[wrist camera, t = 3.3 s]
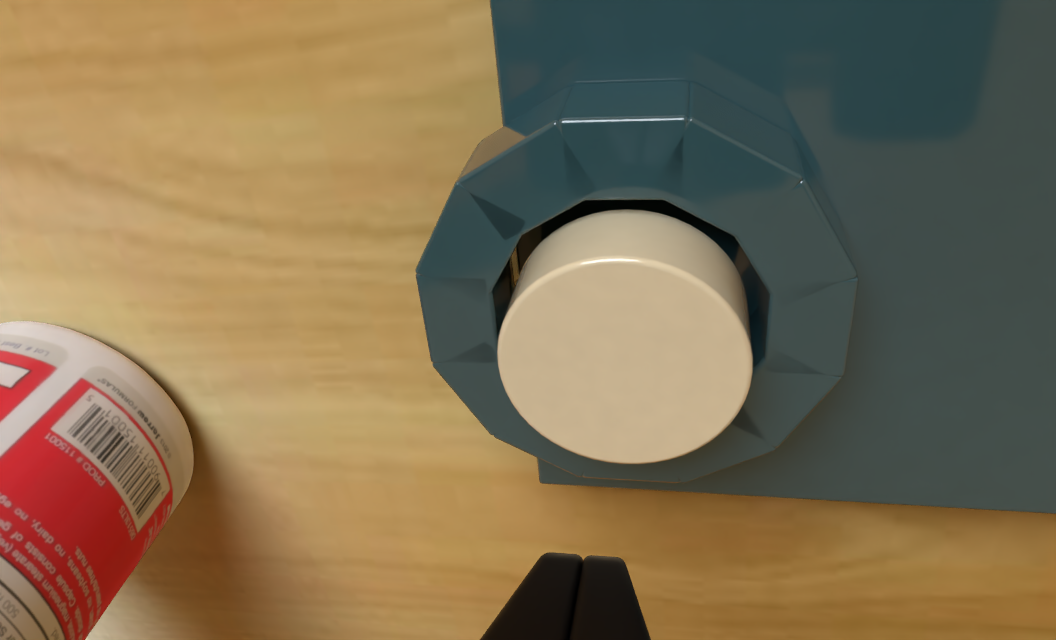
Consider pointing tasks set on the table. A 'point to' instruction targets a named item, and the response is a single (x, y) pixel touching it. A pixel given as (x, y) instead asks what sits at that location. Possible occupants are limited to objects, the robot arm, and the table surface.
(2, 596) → the pill bottle
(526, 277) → the beige round cap
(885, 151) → the teal rectangular base
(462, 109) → the table surface
